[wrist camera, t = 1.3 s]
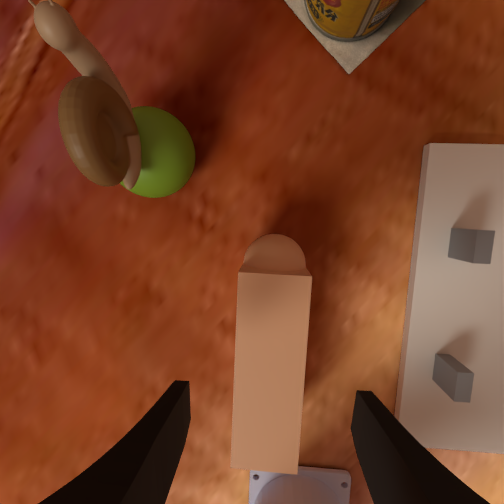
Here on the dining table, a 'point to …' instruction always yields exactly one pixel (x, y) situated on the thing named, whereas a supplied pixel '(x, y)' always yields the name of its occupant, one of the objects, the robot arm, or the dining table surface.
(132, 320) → the dining table surface
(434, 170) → the cradle jig
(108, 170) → the snail figurine
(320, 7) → the condiment
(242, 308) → the block
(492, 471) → the dining table surface
